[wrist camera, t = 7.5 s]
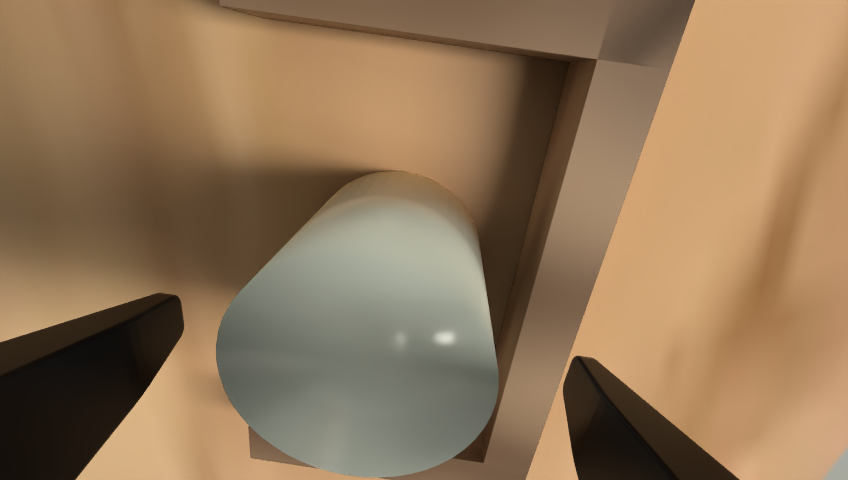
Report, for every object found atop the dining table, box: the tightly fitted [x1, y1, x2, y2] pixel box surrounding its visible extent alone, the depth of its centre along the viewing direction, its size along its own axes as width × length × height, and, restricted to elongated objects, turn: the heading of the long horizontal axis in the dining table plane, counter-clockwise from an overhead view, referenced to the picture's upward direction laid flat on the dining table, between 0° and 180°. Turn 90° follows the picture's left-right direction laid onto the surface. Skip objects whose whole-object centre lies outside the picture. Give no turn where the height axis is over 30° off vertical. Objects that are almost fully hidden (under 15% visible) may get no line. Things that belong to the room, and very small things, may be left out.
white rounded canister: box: [216, 171, 499, 478], centre depth 10 cm, size 6×6×6 cm
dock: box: [219, 0, 695, 480], centre depth 12 cm, size 16×10×2 cm, turn 173°
